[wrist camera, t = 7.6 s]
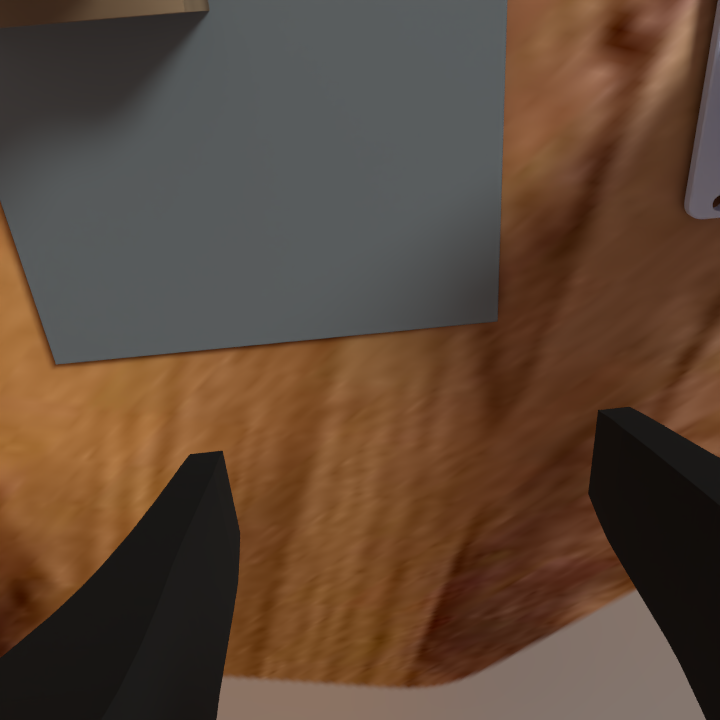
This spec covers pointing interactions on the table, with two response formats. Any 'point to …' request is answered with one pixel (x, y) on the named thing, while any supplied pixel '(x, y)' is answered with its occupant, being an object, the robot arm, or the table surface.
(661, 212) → the table surface
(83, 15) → the walnut block
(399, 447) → the table surface
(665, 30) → the table surface
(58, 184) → the mat
